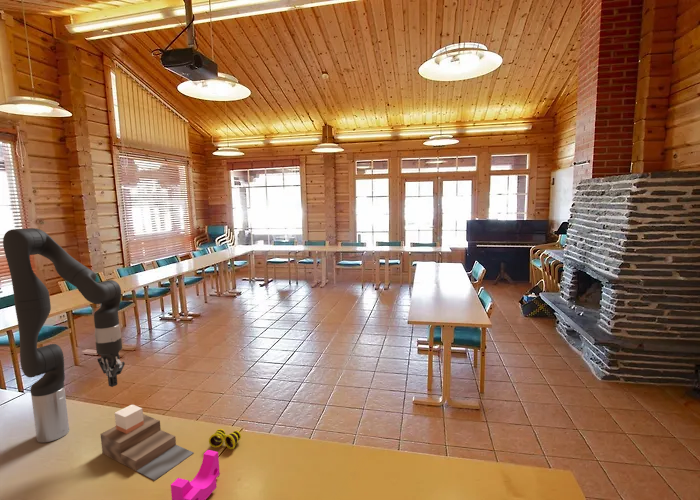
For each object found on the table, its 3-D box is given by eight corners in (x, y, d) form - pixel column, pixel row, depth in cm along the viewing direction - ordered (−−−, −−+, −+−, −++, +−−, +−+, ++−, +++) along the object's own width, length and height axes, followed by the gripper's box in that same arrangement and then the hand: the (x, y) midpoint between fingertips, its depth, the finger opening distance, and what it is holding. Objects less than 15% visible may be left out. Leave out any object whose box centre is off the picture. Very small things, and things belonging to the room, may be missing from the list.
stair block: (102, 453, 123) (100, 434, 122) (142, 430, 135) (140, 413, 135) (154, 480, 110) (152, 459, 109) (193, 453, 122) (192, 433, 121)
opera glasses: (242, 441, 128) (241, 428, 128) (234, 451, 123) (234, 437, 122) (217, 439, 130) (216, 425, 129) (208, 448, 125) (207, 435, 124)
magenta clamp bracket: (191, 515, 97) (189, 489, 96) (172, 510, 99) (170, 484, 98) (226, 476, 112) (225, 453, 111) (209, 472, 113) (207, 449, 113)
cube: (116, 429, 125) (114, 412, 124) (133, 420, 130) (132, 404, 129) (126, 433, 122) (124, 417, 121) (143, 424, 127) (142, 408, 127)
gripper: (86, 338, 126) (91, 386, 128) (107, 344, 120) (112, 394, 122) (108, 332, 133) (113, 377, 135) (130, 337, 127) (135, 384, 129)
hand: (113, 385), depth 128 cm, fingers closed
